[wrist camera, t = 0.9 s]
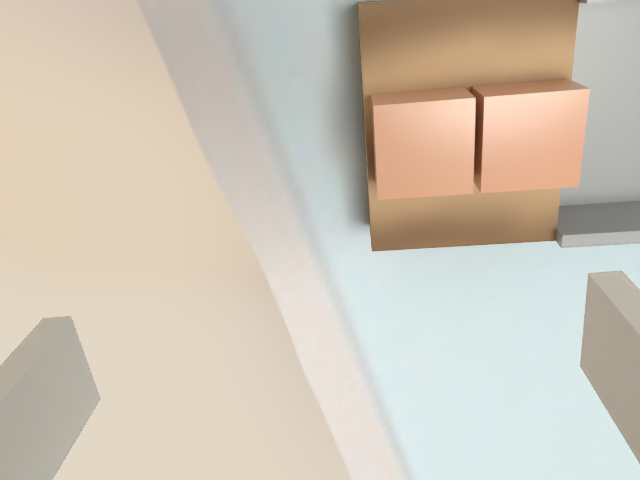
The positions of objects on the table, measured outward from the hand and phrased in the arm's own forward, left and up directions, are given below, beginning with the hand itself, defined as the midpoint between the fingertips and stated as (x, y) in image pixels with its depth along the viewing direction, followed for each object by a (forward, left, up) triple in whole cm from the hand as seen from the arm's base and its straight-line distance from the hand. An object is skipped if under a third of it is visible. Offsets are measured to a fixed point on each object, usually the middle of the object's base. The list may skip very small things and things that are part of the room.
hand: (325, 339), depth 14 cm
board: (0, +7, -23) cm, 24 cm away
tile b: (0, +10, -19) cm, 21 cm away
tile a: (0, +5, -19) cm, 20 cm away
